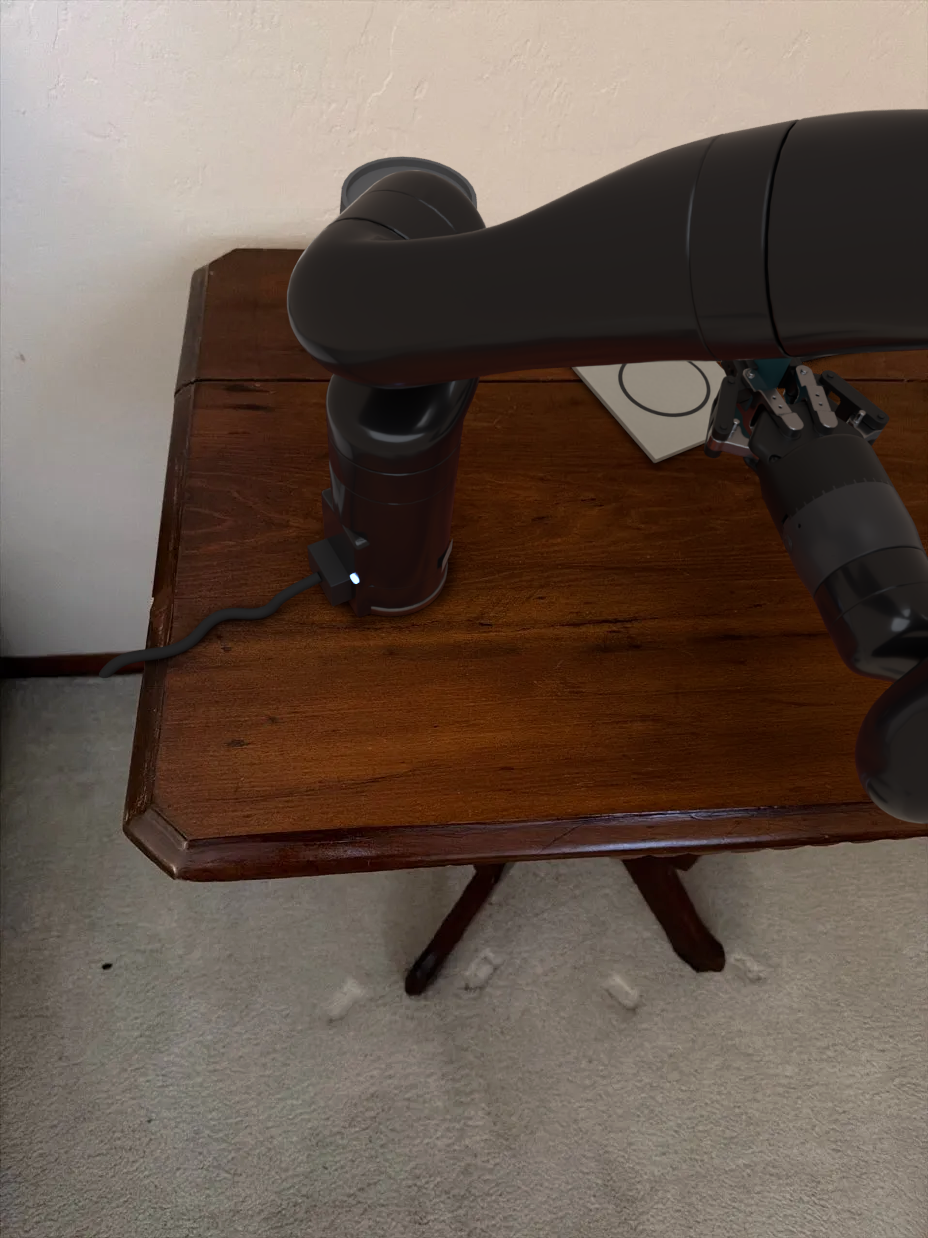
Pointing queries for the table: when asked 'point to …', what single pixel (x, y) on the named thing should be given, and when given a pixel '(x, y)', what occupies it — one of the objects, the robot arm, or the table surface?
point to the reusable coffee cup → (386, 166)
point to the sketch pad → (658, 401)
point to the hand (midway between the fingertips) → (751, 345)
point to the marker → (766, 380)
